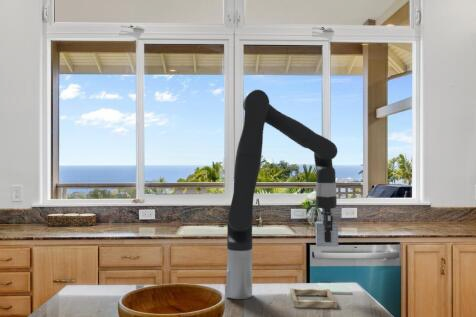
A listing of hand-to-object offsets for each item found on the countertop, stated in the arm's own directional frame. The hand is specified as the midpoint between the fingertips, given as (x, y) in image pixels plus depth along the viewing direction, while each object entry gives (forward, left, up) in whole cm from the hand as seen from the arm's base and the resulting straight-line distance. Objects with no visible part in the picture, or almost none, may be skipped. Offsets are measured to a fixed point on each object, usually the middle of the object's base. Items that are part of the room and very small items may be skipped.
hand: (326, 240), depth 154 cm
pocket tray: (-6, -8, -20) cm, 22 cm away
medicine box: (0, 0, -2) cm, 2 cm away
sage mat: (+4, +6, -20) cm, 21 cm away
